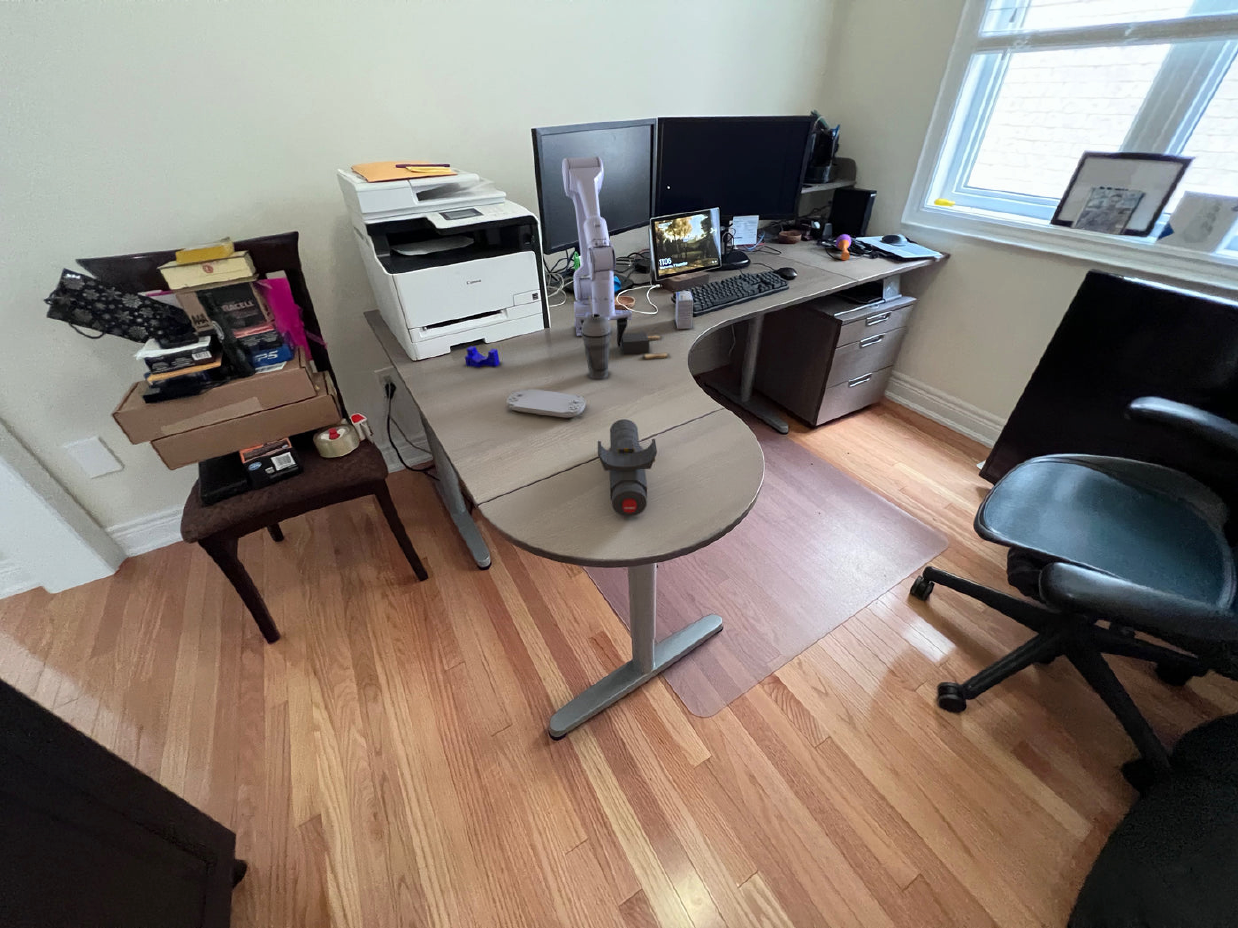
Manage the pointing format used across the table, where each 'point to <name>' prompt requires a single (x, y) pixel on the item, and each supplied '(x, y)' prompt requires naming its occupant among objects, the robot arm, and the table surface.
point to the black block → (635, 343)
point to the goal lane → (660, 355)
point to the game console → (546, 403)
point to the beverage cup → (596, 343)
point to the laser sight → (627, 467)
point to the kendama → (843, 246)
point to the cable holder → (481, 358)
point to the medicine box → (684, 310)
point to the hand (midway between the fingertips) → (605, 346)
